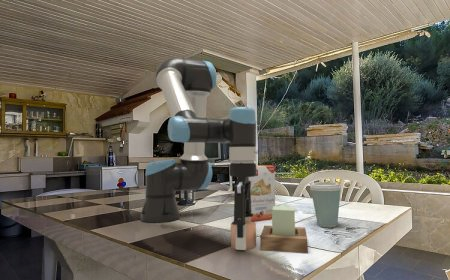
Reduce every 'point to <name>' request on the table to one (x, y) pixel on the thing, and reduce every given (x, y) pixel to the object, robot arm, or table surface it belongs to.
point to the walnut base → (284, 241)
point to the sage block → (283, 220)
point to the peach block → (249, 235)
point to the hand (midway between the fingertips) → (243, 244)
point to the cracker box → (262, 193)
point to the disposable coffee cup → (326, 202)
